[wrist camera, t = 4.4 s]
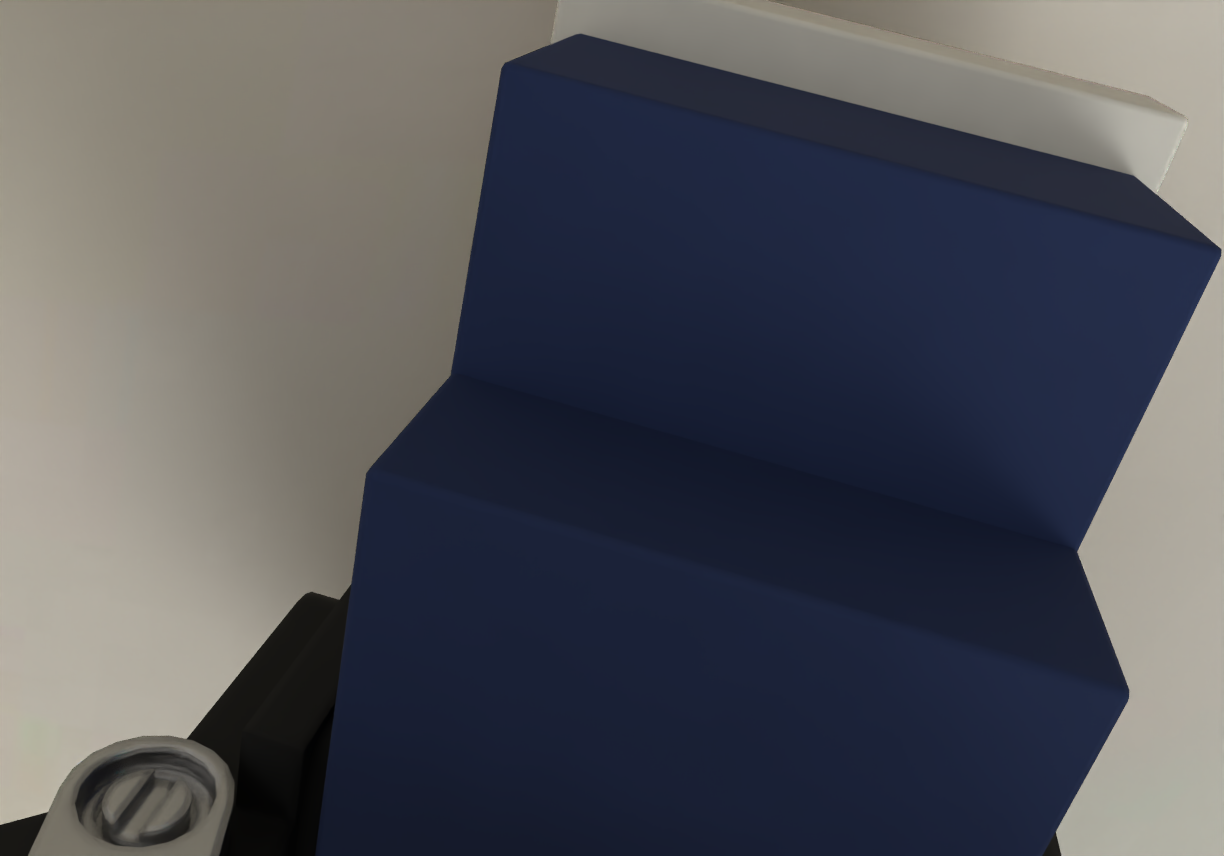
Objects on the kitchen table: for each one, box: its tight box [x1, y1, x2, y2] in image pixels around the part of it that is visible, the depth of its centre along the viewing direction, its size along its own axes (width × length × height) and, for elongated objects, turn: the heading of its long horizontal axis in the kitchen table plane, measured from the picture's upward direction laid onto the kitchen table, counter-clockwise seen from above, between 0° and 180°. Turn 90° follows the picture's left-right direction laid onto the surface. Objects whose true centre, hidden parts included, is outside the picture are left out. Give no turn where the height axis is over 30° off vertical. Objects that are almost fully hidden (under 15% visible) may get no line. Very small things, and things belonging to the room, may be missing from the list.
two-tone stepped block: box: [315, 0, 1221, 856], centre depth 10 cm, size 5×12×5 cm, turn 168°
